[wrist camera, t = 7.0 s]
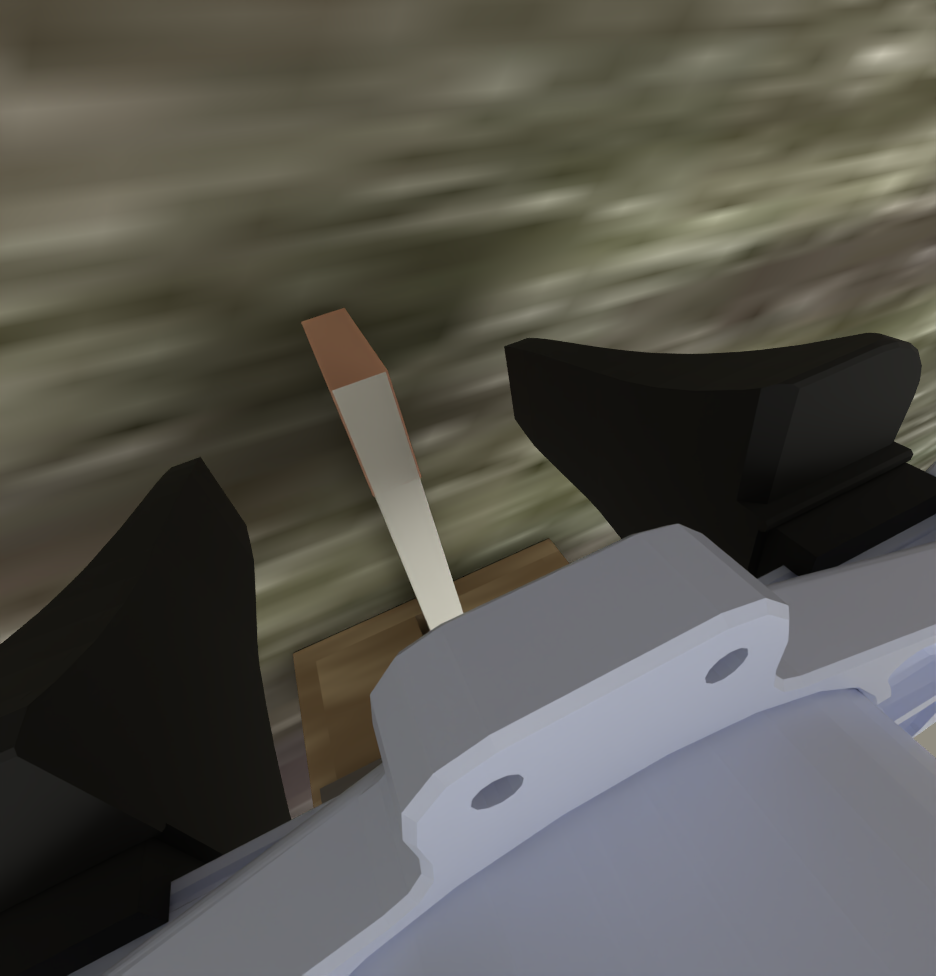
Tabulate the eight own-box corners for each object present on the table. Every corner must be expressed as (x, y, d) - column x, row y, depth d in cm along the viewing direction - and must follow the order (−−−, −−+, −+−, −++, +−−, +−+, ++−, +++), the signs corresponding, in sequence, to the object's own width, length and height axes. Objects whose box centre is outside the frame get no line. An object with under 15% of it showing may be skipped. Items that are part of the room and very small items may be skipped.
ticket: (465, 654, 26) (505, 741, 23) (443, 665, 26) (480, 754, 22) (344, 308, 14) (387, 370, 11) (301, 321, 14) (329, 391, 10)
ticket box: (564, 672, 35) (634, 784, 29) (379, 766, 32) (415, 910, 26) (548, 530, 26) (647, 652, 20) (287, 646, 23) (310, 827, 17)
